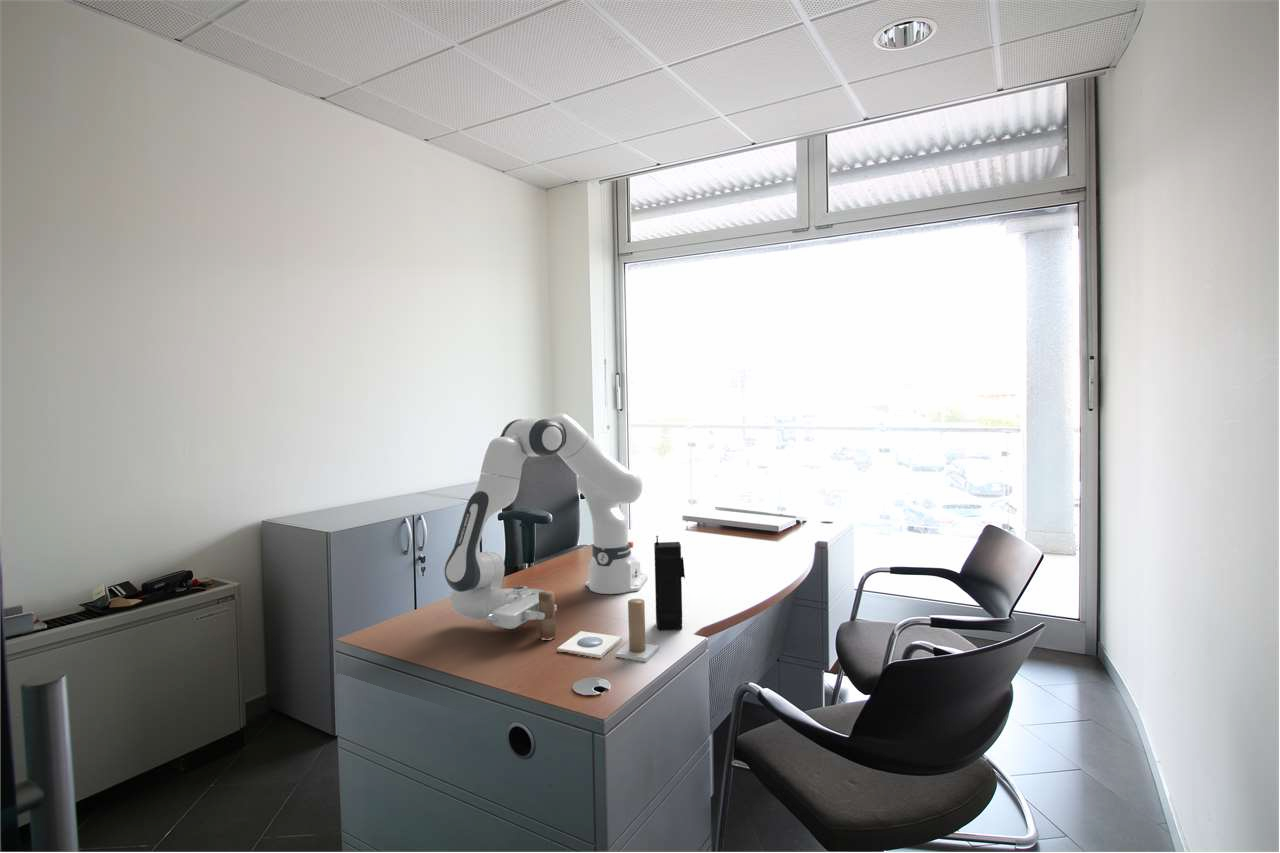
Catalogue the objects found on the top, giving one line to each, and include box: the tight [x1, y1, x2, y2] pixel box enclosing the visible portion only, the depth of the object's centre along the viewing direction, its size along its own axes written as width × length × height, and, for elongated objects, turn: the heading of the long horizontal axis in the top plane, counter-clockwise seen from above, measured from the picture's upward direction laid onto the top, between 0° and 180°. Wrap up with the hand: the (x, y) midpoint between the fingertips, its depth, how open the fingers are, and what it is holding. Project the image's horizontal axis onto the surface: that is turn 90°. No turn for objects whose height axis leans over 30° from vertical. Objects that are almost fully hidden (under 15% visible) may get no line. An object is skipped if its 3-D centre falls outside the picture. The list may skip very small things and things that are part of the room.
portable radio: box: [653, 535, 686, 631], centre depth 183 cm, size 8×6×25 cm
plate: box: [556, 630, 623, 658], centre depth 171 cm, size 12×12×1 cm
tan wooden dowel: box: [615, 598, 660, 663], centre depth 166 cm, size 8×8×13 cm
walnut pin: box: [539, 590, 557, 639], centre depth 177 cm, size 4×4×12 cm
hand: (550, 612), depth 177 cm, fingers closed on walnut pin, 4 cm apart
